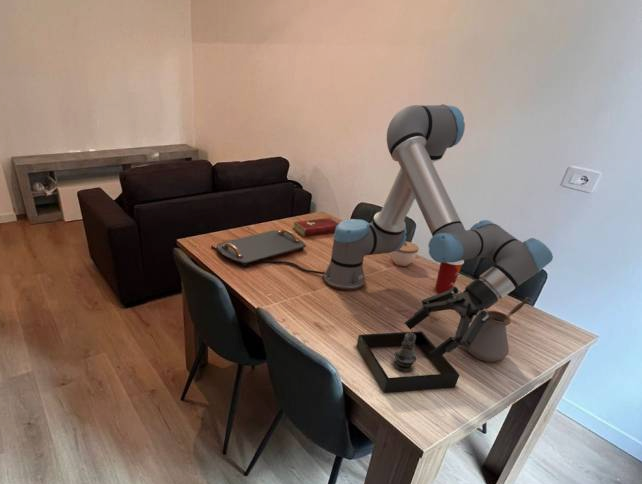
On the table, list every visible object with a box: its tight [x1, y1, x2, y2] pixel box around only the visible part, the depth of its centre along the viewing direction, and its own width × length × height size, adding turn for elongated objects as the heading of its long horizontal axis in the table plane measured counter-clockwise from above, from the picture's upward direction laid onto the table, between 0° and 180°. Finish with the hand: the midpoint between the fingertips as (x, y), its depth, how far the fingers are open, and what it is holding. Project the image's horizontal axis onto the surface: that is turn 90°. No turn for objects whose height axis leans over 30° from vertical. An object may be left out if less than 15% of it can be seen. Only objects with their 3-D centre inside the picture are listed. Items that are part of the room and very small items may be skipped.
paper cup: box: [434, 260, 465, 294], centre depth 148 cm, size 8×8×14 cm
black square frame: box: [356, 330, 460, 394], centre depth 112 cm, size 20×20×4 cm
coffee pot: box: [466, 296, 534, 363], centre depth 117 cm, size 21×12×15 cm, turn 121°
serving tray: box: [216, 228, 307, 268], centre depth 178 cm, size 39×23×6 cm, turn 125°
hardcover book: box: [292, 217, 340, 238], centre depth 201 cm, size 12×21×4 cm, turn 111°
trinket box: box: [390, 240, 420, 267], centre depth 170 cm, size 11×11×9 cm
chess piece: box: [392, 330, 418, 373], centre depth 110 cm, size 6×6×12 cm
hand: (419, 340), depth 109 cm, fingers open, 13 cm apart
